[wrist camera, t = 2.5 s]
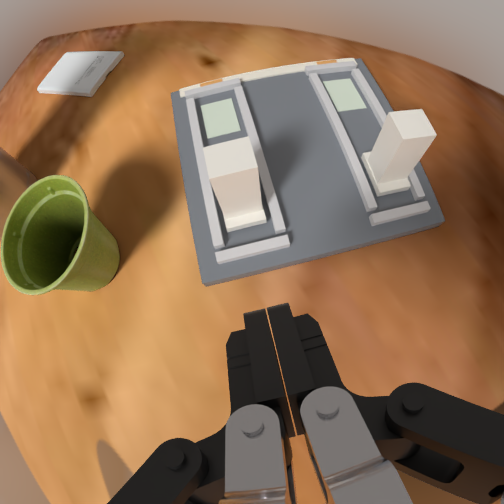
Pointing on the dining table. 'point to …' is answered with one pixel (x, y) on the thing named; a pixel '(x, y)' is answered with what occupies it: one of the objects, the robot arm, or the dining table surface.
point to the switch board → (294, 167)
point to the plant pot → (56, 240)
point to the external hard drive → (80, 73)
